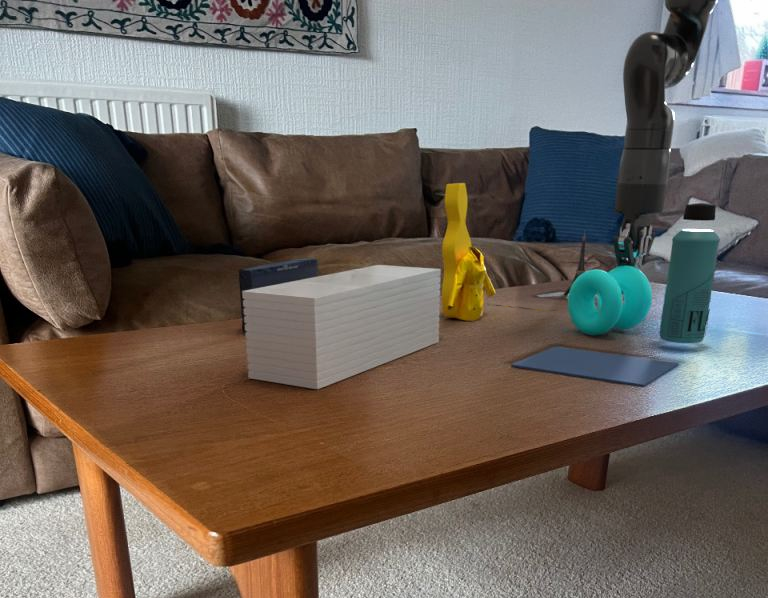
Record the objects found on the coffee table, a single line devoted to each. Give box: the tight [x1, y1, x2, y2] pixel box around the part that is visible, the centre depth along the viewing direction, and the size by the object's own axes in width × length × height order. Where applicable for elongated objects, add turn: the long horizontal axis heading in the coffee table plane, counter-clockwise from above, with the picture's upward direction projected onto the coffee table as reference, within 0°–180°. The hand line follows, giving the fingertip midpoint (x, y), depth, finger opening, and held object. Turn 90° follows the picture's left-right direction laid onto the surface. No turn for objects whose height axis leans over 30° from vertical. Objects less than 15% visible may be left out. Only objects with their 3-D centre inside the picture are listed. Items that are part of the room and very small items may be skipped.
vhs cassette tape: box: [238, 257, 319, 334], centre depth 130 cm, size 18×3×10 cm, turn 148°
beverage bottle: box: [659, 202, 721, 344], centre depth 111 cm, size 6×7×20 cm
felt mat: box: [510, 346, 680, 388], centre depth 105 cm, size 18×14×1 cm
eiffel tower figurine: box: [536, 231, 597, 301], centre depth 154 cm, size 15×10×13 cm
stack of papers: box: [242, 264, 442, 390], centre depth 107 cm, size 32×11×11 cm, turn 149°
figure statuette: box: [441, 182, 497, 322], centre depth 134 cm, size 18×8×22 cm, turn 148°
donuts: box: [567, 266, 653, 336], centre depth 124 cm, size 10×10×10 cm
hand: (627, 293), depth 130 cm, fingers closed
